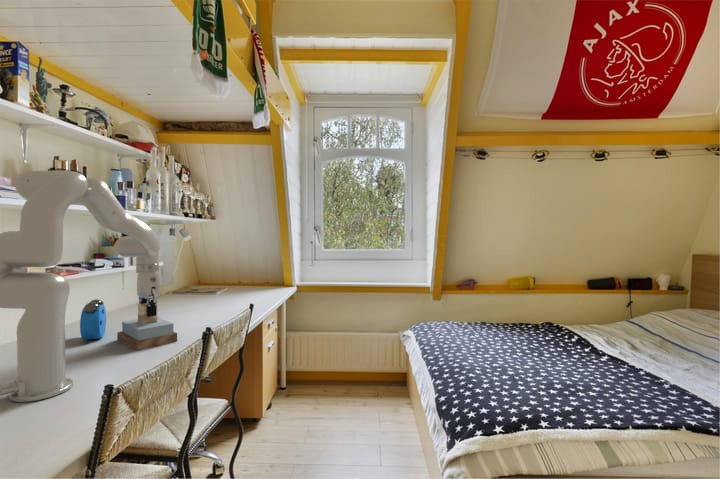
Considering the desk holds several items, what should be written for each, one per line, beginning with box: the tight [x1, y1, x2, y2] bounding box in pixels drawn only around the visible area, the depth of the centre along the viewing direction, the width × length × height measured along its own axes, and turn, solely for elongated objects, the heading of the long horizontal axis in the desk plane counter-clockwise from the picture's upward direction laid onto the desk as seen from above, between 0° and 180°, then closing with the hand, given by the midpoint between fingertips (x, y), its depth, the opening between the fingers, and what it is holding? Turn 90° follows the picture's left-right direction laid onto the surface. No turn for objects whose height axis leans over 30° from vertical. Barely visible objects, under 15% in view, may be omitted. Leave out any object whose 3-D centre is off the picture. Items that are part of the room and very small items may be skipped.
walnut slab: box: [116, 330, 178, 352], centre depth 138 cm, size 14×19×4 cm
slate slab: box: [121, 316, 174, 341], centre depth 138 cm, size 12×17×4 cm
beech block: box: [137, 303, 158, 325], centre depth 138 cm, size 5×5×7 cm
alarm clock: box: [79, 298, 107, 342], centre depth 140 cm, size 13×6×15 cm, turn 25°
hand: (147, 314), depth 138 cm, fingers open, 5 cm apart
